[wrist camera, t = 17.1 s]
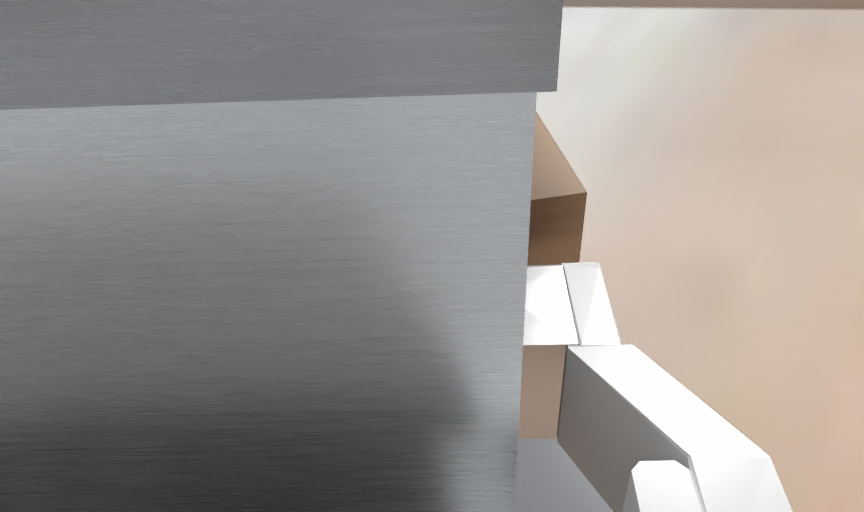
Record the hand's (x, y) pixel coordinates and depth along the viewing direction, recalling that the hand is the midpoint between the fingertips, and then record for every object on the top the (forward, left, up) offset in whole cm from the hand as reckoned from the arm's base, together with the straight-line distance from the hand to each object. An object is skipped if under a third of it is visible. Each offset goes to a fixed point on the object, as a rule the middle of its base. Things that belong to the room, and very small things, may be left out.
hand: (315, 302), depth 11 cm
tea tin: (0, -1, -7) cm, 7 cm away
